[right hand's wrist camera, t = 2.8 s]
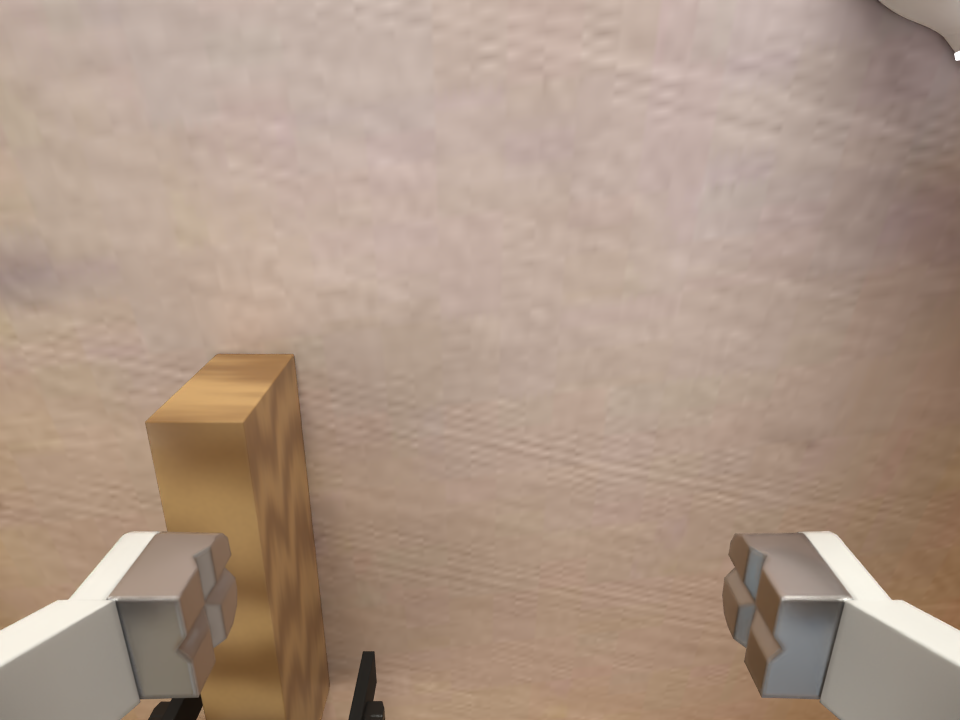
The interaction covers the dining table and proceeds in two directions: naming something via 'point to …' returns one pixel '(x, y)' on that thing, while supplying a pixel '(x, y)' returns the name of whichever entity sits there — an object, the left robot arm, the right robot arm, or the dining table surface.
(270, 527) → the bar
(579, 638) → the dining table surface
